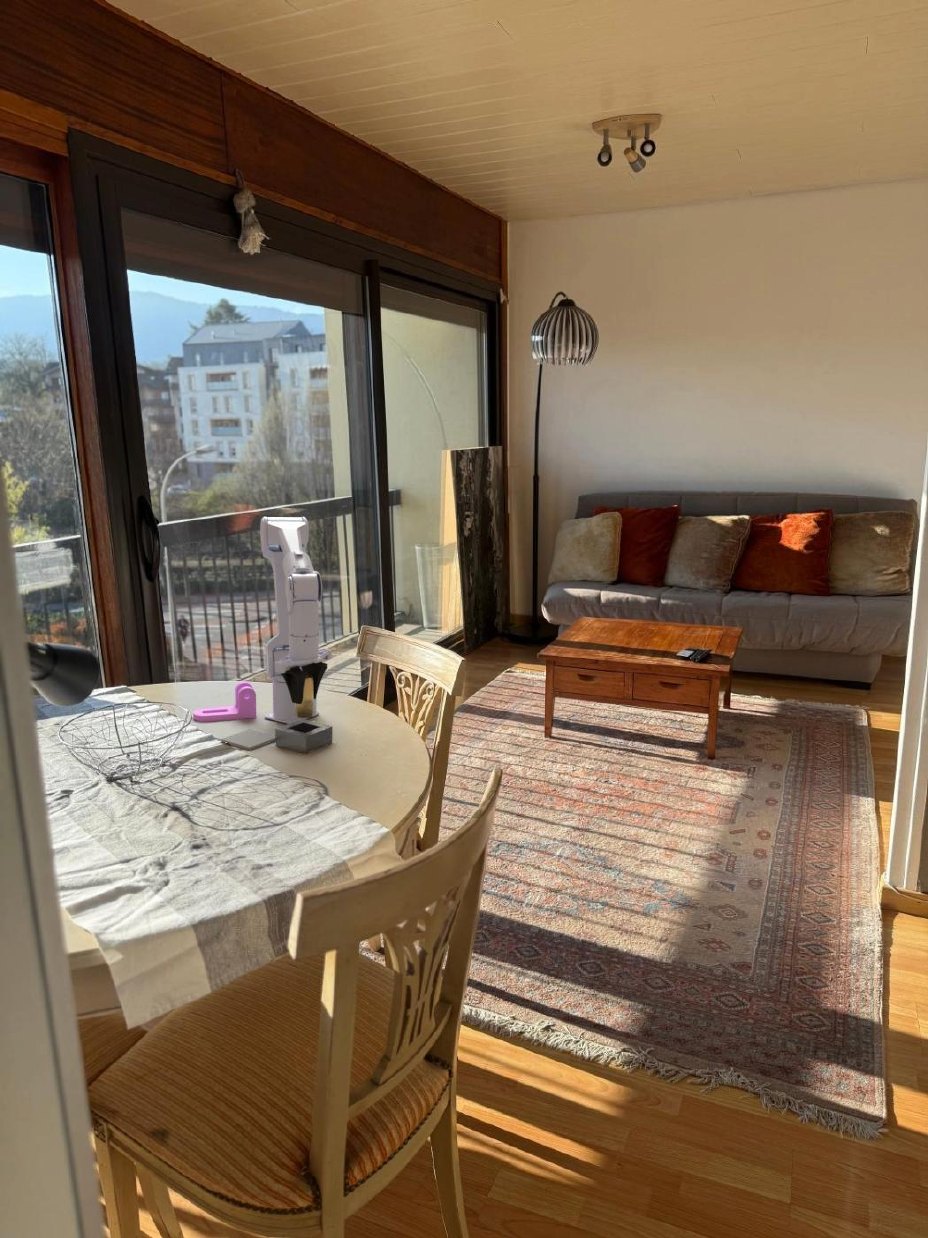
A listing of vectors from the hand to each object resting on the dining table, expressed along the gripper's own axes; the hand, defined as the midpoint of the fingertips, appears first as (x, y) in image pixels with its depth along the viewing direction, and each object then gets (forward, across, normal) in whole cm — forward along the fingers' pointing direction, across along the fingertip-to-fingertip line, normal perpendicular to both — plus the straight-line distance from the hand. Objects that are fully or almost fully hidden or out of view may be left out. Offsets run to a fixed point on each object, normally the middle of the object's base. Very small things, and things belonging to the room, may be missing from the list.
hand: (304, 700), depth 173 cm
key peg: (+3, 0, 0) cm, 3 cm away
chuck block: (+9, 0, 0) cm, 9 cm away
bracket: (+10, +3, +26) cm, 28 cm away
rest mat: (+9, -5, +10) cm, 14 cm away
